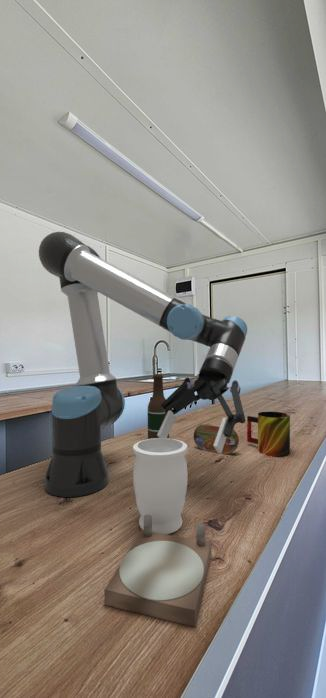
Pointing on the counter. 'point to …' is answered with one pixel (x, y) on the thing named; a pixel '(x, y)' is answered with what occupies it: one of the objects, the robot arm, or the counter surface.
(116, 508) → the counter surface
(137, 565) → the seat board
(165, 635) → the counter surface
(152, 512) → the jar
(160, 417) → the beer bottle
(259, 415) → the mug
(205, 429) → the tin
